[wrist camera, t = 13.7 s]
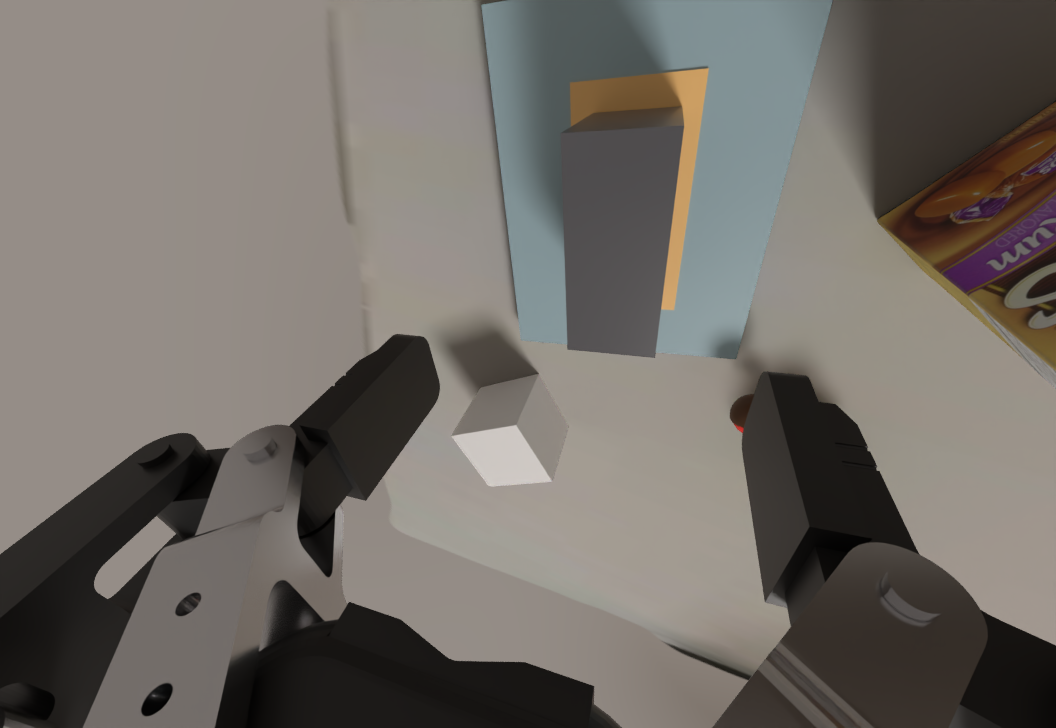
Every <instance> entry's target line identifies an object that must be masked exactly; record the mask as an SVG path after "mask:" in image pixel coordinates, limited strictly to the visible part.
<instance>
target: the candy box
mask: <svg viewBox="0 0 1056 728" xmlns="http://www.w3.org/2000/svg"><path fill="white" fill-rule="evenodd" d="M877 222H878V223H879V224H880V225H881V226H882V227H883V228H884V229H885V230H886V231H887V232H888V234H889V235H890V236H891V237H892V238H893V239H894V240H895V241H896V242H897V243H898V244H899V246H900V247H901V248H902V249H903V250H904V251H905V252H906V253H907V254H908V255H909V256H910V257H911V259H912V260H913V261H914V262H915V263H916V264H917V265H918V266H919V267H920V268H921V269H922V270H923V271H924V272H925V273H926V274H927V275H928V276H930V277H931V278H932V279H933V280H934V281H936V282H937V283H938V284H939V285H940V286H941V287H943V288H944V289H945V290H946V291H947V292H948V293H949V294H951V295H952V296H953V297H954V298H955V299H956V300H957V301H959V302H960V303H961V304H962V305H963V306H964V307H965V308H966V309H967V310H969V311H970V312H971V313H972V314H973V315H974V316H975V317H976V318H978V319H979V320H980V321H981V322H982V323H983V324H984V325H985V326H987V327H988V328H989V329H990V330H991V331H992V332H993V333H995V334H996V335H997V336H998V337H999V338H1000V339H1001V340H1002V341H1004V342H1005V343H1006V344H1007V345H1008V346H1009V347H1010V348H1012V349H1013V350H1014V351H1015V352H1016V353H1017V354H1018V355H1019V356H1020V357H1021V358H1022V359H1023V360H1025V361H1026V362H1027V363H1028V364H1029V365H1030V366H1031V367H1032V368H1033V369H1034V370H1035V371H1037V372H1038V373H1039V374H1040V375H1041V376H1042V377H1043V378H1044V379H1045V380H1046V381H1048V382H1049V383H1050V384H1051V385H1052V386H1053V387H1054V388H1055V389H1056V102H1054V103H1053V104H1051V105H1050V106H1048V107H1047V108H1045V109H1044V110H1042V111H1041V112H1040V113H1038V114H1037V115H1035V116H1034V117H1032V118H1030V119H1029V120H1028V121H1026V122H1025V123H1023V124H1022V125H1020V126H1018V127H1017V128H1016V129H1014V130H1013V131H1011V132H1010V133H1008V134H1007V135H1005V136H1004V137H1002V138H1001V139H999V140H998V141H996V142H995V143H993V144H991V145H990V146H988V147H987V148H985V149H984V150H983V151H981V152H980V153H978V154H976V155H975V156H973V157H972V158H971V159H969V160H968V161H966V162H965V163H963V164H962V165H960V166H958V167H957V168H955V169H954V170H952V171H951V172H949V173H948V174H946V175H945V176H943V177H942V178H940V179H939V180H937V181H936V182H934V183H933V184H931V185H930V186H928V187H927V188H926V189H924V190H923V191H921V192H920V193H918V194H917V195H915V196H914V197H912V198H910V199H909V200H907V201H906V202H904V203H903V204H901V205H900V206H898V207H896V208H895V209H893V210H892V211H890V212H889V213H887V214H886V215H884V216H882V217H881V218H879V219H878V220H877Z"/></svg>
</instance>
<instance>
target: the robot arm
mask: <svg viewBox="0 0 1056 728" xmlns="http://www.w3.org/2000/svg"><path fill="white" fill-rule="evenodd" d="M439 391H440V384H439V379H438V375H437V372H436V368H435V365H434V361H433V358H432V354H431V351H430V347H429V344H428V342H427V340H426V339H425V338H424V337H422V336H412V335H402V334H395V335H393V336H392V337H391V338H390V339H389V340H388V341H387V342H386V343H384V344H383V345H382V346H381V347H380V348H379V349H378V350H377V351H375V352H373V353H372V354H370V355H368V356H366V357H365V358H363V359H361V360H359V361H358V362H357V363H356V364H355V365H354V366H353V367H352V368H351V369H350V370H349V371H348V372H347V373H346V376H342V377H341V378H340V379H339V380H338V381H337V382H336V383H335V386H331V387H330V389H328V390H327V391H326V392H325V393H324V394H323V395H322V396H321V397H320V398H319V399H318V400H317V401H315V402H314V403H313V404H312V405H311V406H310V407H309V408H308V409H307V410H306V411H305V412H304V413H303V414H302V415H300V416H299V417H298V418H297V419H296V420H295V421H294V422H293V423H292V424H291V425H290V426H286V425H272V426H267V427H264V428H261V429H259V430H256V431H254V432H252V433H250V434H248V435H246V436H245V437H243V438H242V439H240V440H239V441H238V442H236V443H235V444H234V445H233V446H232V447H231V448H225V449H214V450H205V449H204V447H203V446H202V445H201V444H200V443H199V441H198V440H197V439H196V438H195V437H194V436H193V435H191V434H188V433H178V434H173V435H169V436H166V437H163V438H160V439H158V440H156V441H153V442H152V443H149V444H147V445H145V446H144V447H142V448H141V449H139V450H138V451H136V452H135V453H133V454H132V455H131V456H129V457H128V458H127V459H125V460H124V461H123V462H122V463H120V464H119V465H117V466H116V467H115V468H114V469H112V470H111V471H110V472H108V473H107V474H106V475H104V476H103V477H102V478H100V479H99V480H98V481H97V482H95V483H94V484H92V485H91V486H90V487H89V488H87V489H86V490H85V491H83V492H82V493H81V494H79V495H78V496H77V497H75V498H74V499H73V500H71V501H70V502H69V503H68V504H66V505H65V506H63V507H62V508H61V509H59V510H58V511H57V512H56V513H54V514H53V515H52V516H50V517H49V518H48V519H46V520H45V521H44V522H42V523H41V524H40V525H38V526H37V527H36V528H34V529H33V530H32V531H30V532H29V533H28V534H27V535H25V536H24V537H23V538H22V539H20V540H19V541H17V542H16V543H15V544H13V545H12V546H11V547H9V548H8V549H7V550H5V551H4V552H3V553H1V554H0V728H622V727H620V726H619V725H618V724H617V723H616V722H615V721H614V720H613V719H612V718H611V717H610V716H609V715H608V714H606V713H605V712H604V711H602V710H601V709H600V708H598V707H597V706H596V705H594V686H592V685H589V684H586V683H583V682H580V681H577V680H574V679H572V678H569V677H566V676H563V675H560V674H557V673H554V672H551V671H548V670H545V669H543V668H540V667H537V666H533V665H531V664H528V663H525V662H476V661H475V662H474V661H454V660H451V659H449V658H447V657H446V656H445V655H443V654H442V653H441V652H440V651H438V650H437V649H436V648H435V647H433V646H432V645H431V644H430V643H429V642H427V641H426V640H425V639H424V638H422V637H421V636H420V635H419V634H418V633H416V632H415V631H414V630H413V629H411V628H410V627H409V626H408V625H407V624H405V623H404V622H403V621H402V620H400V619H397V618H394V617H391V616H389V615H385V614H383V613H380V612H377V611H374V610H371V609H368V608H365V607H362V606H359V605H356V604H354V603H351V602H349V603H348V604H347V603H346V600H345V597H344V594H343V589H342V554H343V520H344V513H343V508H342V506H341V505H340V504H341V503H342V501H343V500H344V499H345V497H346V496H350V497H353V498H358V499H361V500H365V501H366V500H367V498H368V497H369V496H370V494H371V493H372V491H373V490H374V488H375V487H376V486H377V484H378V483H379V482H380V480H381V479H382V477H383V476H384V475H385V473H386V472H387V470H388V469H389V468H390V466H391V465H392V463H393V462H394V461H395V459H396V458H397V456H398V455H399V454H400V452H401V451H402V450H403V448H404V447H405V445H406V444H407V443H408V441H409V440H410V438H411V437H412V436H413V434H414V433H415V431H416V430H417V429H418V427H419V426H420V424H421V423H422V422H423V420H424V419H425V417H426V416H427V415H428V413H429V412H430V410H431V409H432V408H433V406H434V405H435V403H436V401H437V399H438V396H439ZM867 448H868V446H867V444H866V442H865V440H864V438H863V436H862V434H861V432H860V429H859V427H858V425H857V424H856V423H855V422H854V421H853V420H852V419H851V418H850V417H849V416H848V415H846V414H845V413H844V412H843V411H842V410H841V409H840V408H839V407H838V406H837V405H836V404H830V403H821V402H818V399H817V397H816V394H815V392H814V389H813V387H812V384H811V382H810V379H809V378H808V377H807V376H805V375H795V374H785V373H775V372H763V373H762V375H761V376H760V379H759V381H758V385H757V388H756V391H755V394H754V397H753V400H752V403H751V406H750V409H749V412H748V415H747V418H746V421H745V425H744V429H743V436H742V453H743V460H744V466H745V473H746V480H747V486H748V493H749V499H750V506H751V513H752V519H753V526H754V533H755V539H756V546H757V552H758V559H759V566H760V572H761V579H762V586H763V592H764V599H765V602H766V603H770V604H774V605H778V606H782V607H786V608H788V613H789V619H790V624H791V627H790V629H789V630H788V631H787V633H786V634H785V635H784V637H783V638H782V639H781V640H780V642H779V643H778V644H777V646H776V647H775V648H774V649H773V651H772V652H771V653H770V654H769V655H768V656H767V658H766V659H765V660H764V661H763V663H762V664H761V665H760V666H759V668H758V669H757V670H756V672H755V673H754V674H753V676H752V677H751V678H750V679H749V681H748V682H747V683H746V685H745V686H744V687H743V689H742V690H741V691H740V692H739V694H738V695H737V696H736V698H735V699H734V700H733V701H732V703H731V704H730V705H729V707H728V708H727V709H726V710H725V712H724V713H723V714H722V716H721V717H720V718H719V720H718V721H717V722H716V723H715V725H714V726H713V727H712V728H1056V645H1053V644H1051V643H1049V642H1047V641H1045V640H1042V639H1040V638H1038V637H1036V636H1033V635H1031V634H1029V633H1027V632H1025V631H1022V630H1020V629H1018V628H1016V627H1014V626H1011V625H1009V624H1007V623H1005V622H1003V621H1001V620H999V619H997V618H994V617H992V616H990V615H988V614H987V613H985V612H983V611H982V610H980V608H979V607H978V605H977V604H976V602H975V601H974V599H973V598H972V596H971V595H970V594H969V593H968V592H967V591H966V589H965V588H964V587H963V586H962V585H961V584H960V583H959V582H958V581H957V580H956V579H955V578H953V577H952V576H951V575H950V574H948V573H947V572H946V571H945V570H943V569H942V568H941V567H939V566H938V565H936V564H935V563H933V562H932V561H930V560H928V559H926V558H925V557H923V556H921V555H920V554H919V553H918V551H917V549H916V547H915V545H914V543H913V541H912V539H911V537H910V535H909V532H908V530H907V528H906V526H905V524H904V522H903V520H902V518H901V516H900V514H899V511H898V509H897V507H896V505H895V503H894V501H893V499H892V497H891V495H890V493H889V490H888V488H887V486H886V484H885V482H884V480H883V478H882V476H881V474H880V471H877V470H876V467H877V465H876V463H875V461H874V459H873V457H872V455H871V453H870V452H869V451H867ZM156 516H157V517H158V518H160V519H161V520H162V521H163V522H164V523H165V524H166V525H167V526H169V527H170V528H171V529H172V530H173V531H174V532H175V533H176V535H175V536H174V537H173V538H171V539H170V540H169V541H168V542H167V544H165V545H164V546H163V548H162V549H161V550H159V551H158V552H157V553H156V554H155V555H154V556H153V558H151V560H150V561H149V562H147V564H145V566H143V567H142V569H140V570H139V571H138V572H137V574H135V575H134V576H133V577H132V579H130V580H129V581H128V582H127V583H126V584H125V585H124V586H123V587H122V588H121V589H120V590H119V591H118V592H117V593H116V594H115V595H114V596H112V597H111V598H109V599H106V598H105V597H103V596H101V595H100V594H98V593H97V592H96V590H95V588H94V580H95V577H96V574H97V573H98V571H99V569H100V568H101V567H102V566H103V564H105V563H106V562H107V561H108V560H109V559H110V558H111V557H112V556H113V555H114V554H115V553H116V552H118V551H119V550H120V549H121V548H122V547H123V546H124V545H125V544H126V543H127V542H128V541H130V540H131V539H132V538H133V537H134V536H135V535H136V534H137V533H138V532H139V531H140V530H141V529H143V528H144V527H145V526H146V525H147V524H148V523H149V522H150V521H151V520H152V519H153V518H154V517H156Z"/></svg>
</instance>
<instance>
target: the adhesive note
mask: <svg viewBox="0 0 1056 728" xmlns="http://www.w3.org/2000/svg"><path fill="white" fill-rule="evenodd" d="M568 428H569V426H568V424H567V423H566V421H565V419H564V417H563V416H562V414H561V412H560V410H559V408H558V407H557V405H556V403H555V401H554V400H553V398H552V396H551V394H550V393H549V391H548V389H547V387H546V385H545V384H544V382H543V380H542V378H541V377H540V375H539V374H536V375H531V376H527V377H523V378H519V379H514V380H510V381H506V382H502V383H497V384H493V385H489V386H485V387H481V388H480V389H479V391H478V392H477V394H476V396H475V397H474V399H473V401H472V402H471V404H470V406H469V407H468V409H467V411H466V412H465V414H464V416H463V417H462V419H461V421H460V422H459V424H458V426H457V427H456V429H455V431H454V432H453V434H452V435H451V436H452V438H453V439H454V440H455V442H456V443H457V444H458V446H459V447H460V448H461V450H462V451H463V452H464V454H465V455H466V456H467V458H468V459H469V460H470V462H471V463H472V464H473V466H474V467H475V468H476V470H477V471H478V472H479V474H480V475H481V476H482V478H483V479H484V480H485V481H486V483H487V484H488V485H489V487H491V486H504V485H516V484H529V483H541V482H552V481H553V478H554V475H555V471H556V468H557V465H558V461H559V458H560V455H561V451H562V448H563V444H564V441H565V438H566V434H567V431H568Z"/></svg>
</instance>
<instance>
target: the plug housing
mask: <svg viewBox="0 0 1056 728" xmlns="http://www.w3.org/2000/svg"><path fill="white" fill-rule="evenodd" d="M683 132H684V118H683V108H682V106H678V107H665V108H651V109H638V110H625V111H612V112H598V113H592V114H591V115H589V116H588V117H586V118H584V119H583V120H581V121H579V122H578V123H576V124H575V125H573V126H571V127H570V128H568V129H566V130H565V131H563V132H562V133H561V163H562V194H563V225H564V256H565V287H566V318H567V348H568V350H579V351H589V352H600V353H610V354H621V355H631V356H642V357H652V358H655V353H656V345H657V338H658V330H659V322H660V314H661V306H662V298H663V290H664V282H665V274H666V266H667V258H668V251H669V243H670V235H671V227H672V219H673V211H674V203H675V195H676V187H677V179H678V171H679V164H680V156H681V148H682V140H683Z"/></svg>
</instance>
